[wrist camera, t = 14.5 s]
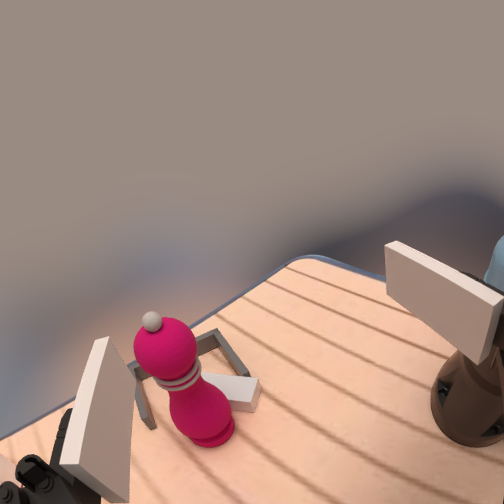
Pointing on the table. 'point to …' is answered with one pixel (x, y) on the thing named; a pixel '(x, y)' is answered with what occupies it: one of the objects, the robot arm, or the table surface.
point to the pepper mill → (183, 380)
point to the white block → (237, 390)
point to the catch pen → (203, 346)
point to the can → (7, 471)
